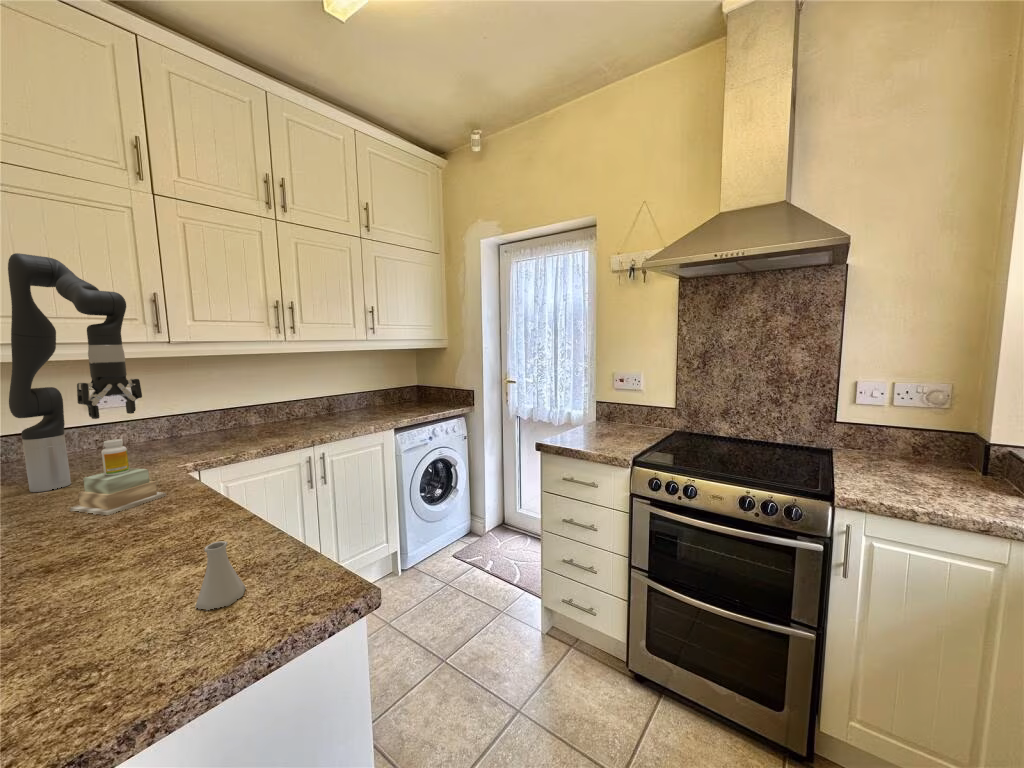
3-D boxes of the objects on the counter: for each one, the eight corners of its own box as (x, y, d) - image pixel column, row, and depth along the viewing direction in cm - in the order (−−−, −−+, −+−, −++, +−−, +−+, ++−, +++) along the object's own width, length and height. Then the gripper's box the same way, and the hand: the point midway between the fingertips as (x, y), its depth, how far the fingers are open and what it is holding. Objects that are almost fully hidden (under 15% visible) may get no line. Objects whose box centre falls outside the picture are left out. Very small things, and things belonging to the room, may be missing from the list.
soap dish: (69, 511, 116) (65, 480, 115) (131, 492, 130) (128, 464, 129) (107, 515, 112) (103, 483, 111) (166, 496, 126) (163, 467, 125)
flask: (212, 588, 77) (207, 537, 76) (253, 585, 77) (248, 534, 76) (185, 613, 69) (179, 557, 68) (230, 610, 70) (225, 554, 69)
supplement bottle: (133, 471, 122) (130, 439, 121) (111, 476, 117) (107, 443, 116) (122, 469, 124) (118, 437, 123) (99, 475, 119) (95, 442, 118)
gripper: (127, 359, 127) (132, 411, 129) (66, 361, 114) (73, 419, 115) (144, 359, 125) (149, 412, 127) (84, 362, 112) (91, 421, 113)
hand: (113, 415), depth 121 cm, fingers open, 8 cm apart
